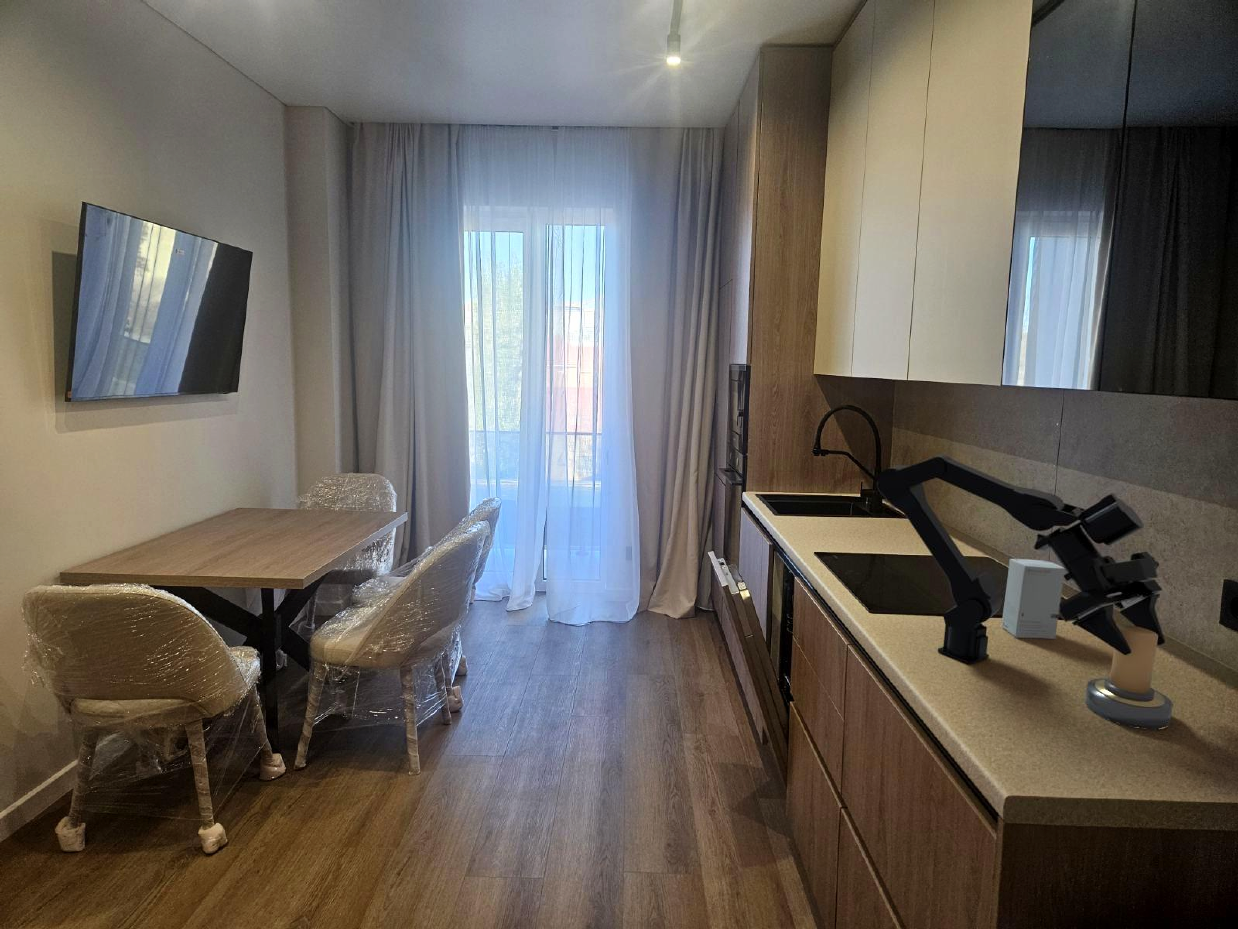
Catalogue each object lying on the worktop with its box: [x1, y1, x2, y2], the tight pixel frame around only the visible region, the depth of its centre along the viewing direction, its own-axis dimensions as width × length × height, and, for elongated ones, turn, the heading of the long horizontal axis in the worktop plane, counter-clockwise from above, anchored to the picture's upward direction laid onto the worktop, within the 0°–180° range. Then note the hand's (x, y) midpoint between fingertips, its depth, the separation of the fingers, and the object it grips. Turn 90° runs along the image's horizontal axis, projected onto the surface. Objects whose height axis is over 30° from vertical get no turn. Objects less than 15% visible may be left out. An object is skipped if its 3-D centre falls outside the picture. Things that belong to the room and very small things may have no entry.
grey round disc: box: [1084, 677, 1174, 729], centre depth 113 cm, size 11×11×3 cm
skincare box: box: [1001, 558, 1066, 640], centre depth 144 cm, size 8×6×15 cm
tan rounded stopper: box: [1104, 624, 1158, 702], centre depth 112 cm, size 6×6×10 cm
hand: (1145, 649), depth 110 cm, fingers open, 9 cm apart
